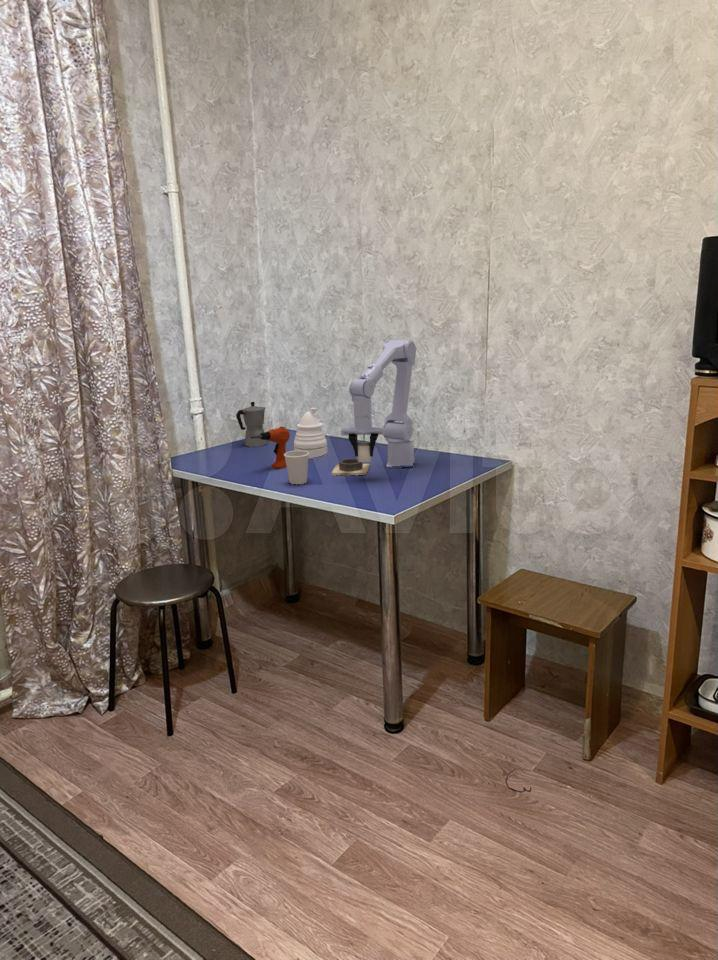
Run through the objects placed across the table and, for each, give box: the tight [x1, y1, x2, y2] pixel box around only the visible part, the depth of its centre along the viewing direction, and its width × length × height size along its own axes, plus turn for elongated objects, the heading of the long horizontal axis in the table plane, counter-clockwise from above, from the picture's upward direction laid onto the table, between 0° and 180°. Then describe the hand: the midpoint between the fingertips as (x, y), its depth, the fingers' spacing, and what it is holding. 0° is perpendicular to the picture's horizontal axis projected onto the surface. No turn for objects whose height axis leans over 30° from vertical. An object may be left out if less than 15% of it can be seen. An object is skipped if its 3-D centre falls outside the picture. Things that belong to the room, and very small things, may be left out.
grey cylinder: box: [357, 441, 372, 463], centre depth 233 cm, size 4×4×6 cm
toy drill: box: [250, 426, 291, 470], centre depth 250 cm, size 5×19×15 cm, turn 141°
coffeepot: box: [235, 401, 268, 448], centre depth 288 cm, size 15×9×18 cm, turn 139°
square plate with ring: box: [330, 458, 371, 477], centre depth 245 cm, size 12×12×4 cm
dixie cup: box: [284, 450, 309, 486], centre depth 233 cm, size 8×8×10 cm
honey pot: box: [293, 407, 328, 459], centre depth 269 cm, size 13×13×18 cm
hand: (364, 455), depth 233 cm, fingers closed on grey cylinder, 4 cm apart
